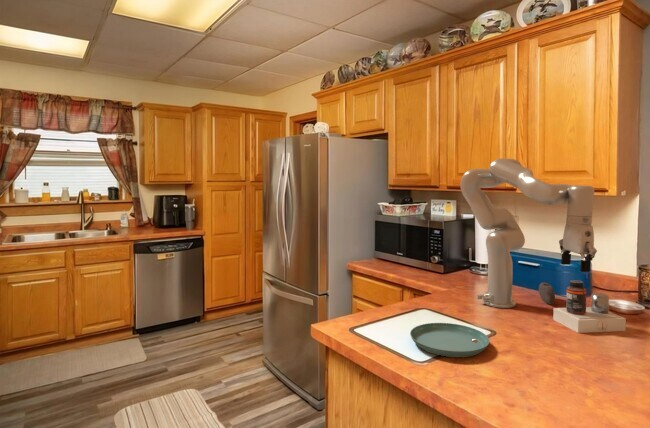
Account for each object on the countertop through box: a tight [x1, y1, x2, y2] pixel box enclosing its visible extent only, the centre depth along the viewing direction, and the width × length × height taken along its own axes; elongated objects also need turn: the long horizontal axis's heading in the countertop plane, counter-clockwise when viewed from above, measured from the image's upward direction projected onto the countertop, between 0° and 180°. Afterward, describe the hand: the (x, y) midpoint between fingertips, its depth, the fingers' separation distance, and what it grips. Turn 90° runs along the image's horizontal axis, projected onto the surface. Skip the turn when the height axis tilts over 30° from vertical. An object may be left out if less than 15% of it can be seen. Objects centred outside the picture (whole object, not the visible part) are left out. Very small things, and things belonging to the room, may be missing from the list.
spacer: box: [590, 292, 610, 314], centre depth 139 cm, size 5×5×6 cm
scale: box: [552, 306, 627, 334], centre depth 139 cm, size 17×13×5 cm
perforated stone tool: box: [538, 282, 556, 305], centre depth 166 cm, size 15×5×7 cm, turn 159°
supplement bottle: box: [565, 279, 587, 314], centre depth 138 cm, size 6×6×11 cm
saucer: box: [410, 322, 490, 358], centre depth 124 cm, size 24×24×3 cm
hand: (574, 268), depth 138 cm, fingers open, 9 cm apart
